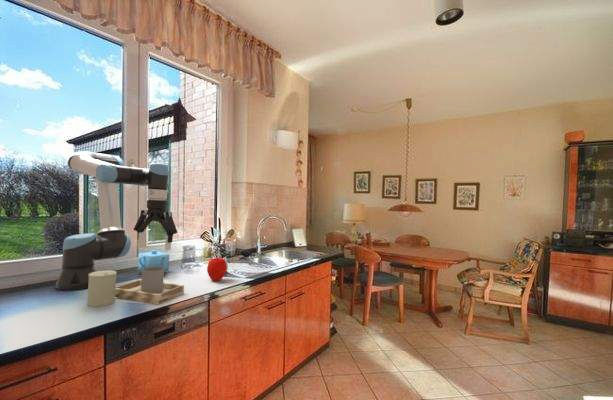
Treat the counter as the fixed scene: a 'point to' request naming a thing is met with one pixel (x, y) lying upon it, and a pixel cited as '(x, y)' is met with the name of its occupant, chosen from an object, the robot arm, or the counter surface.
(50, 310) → the counter surface
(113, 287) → the can
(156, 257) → the teapot
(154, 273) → the cup
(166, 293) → the box
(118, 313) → the counter surface
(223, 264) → the apple
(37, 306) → the counter surface
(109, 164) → the robot arm
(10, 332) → the counter surface
